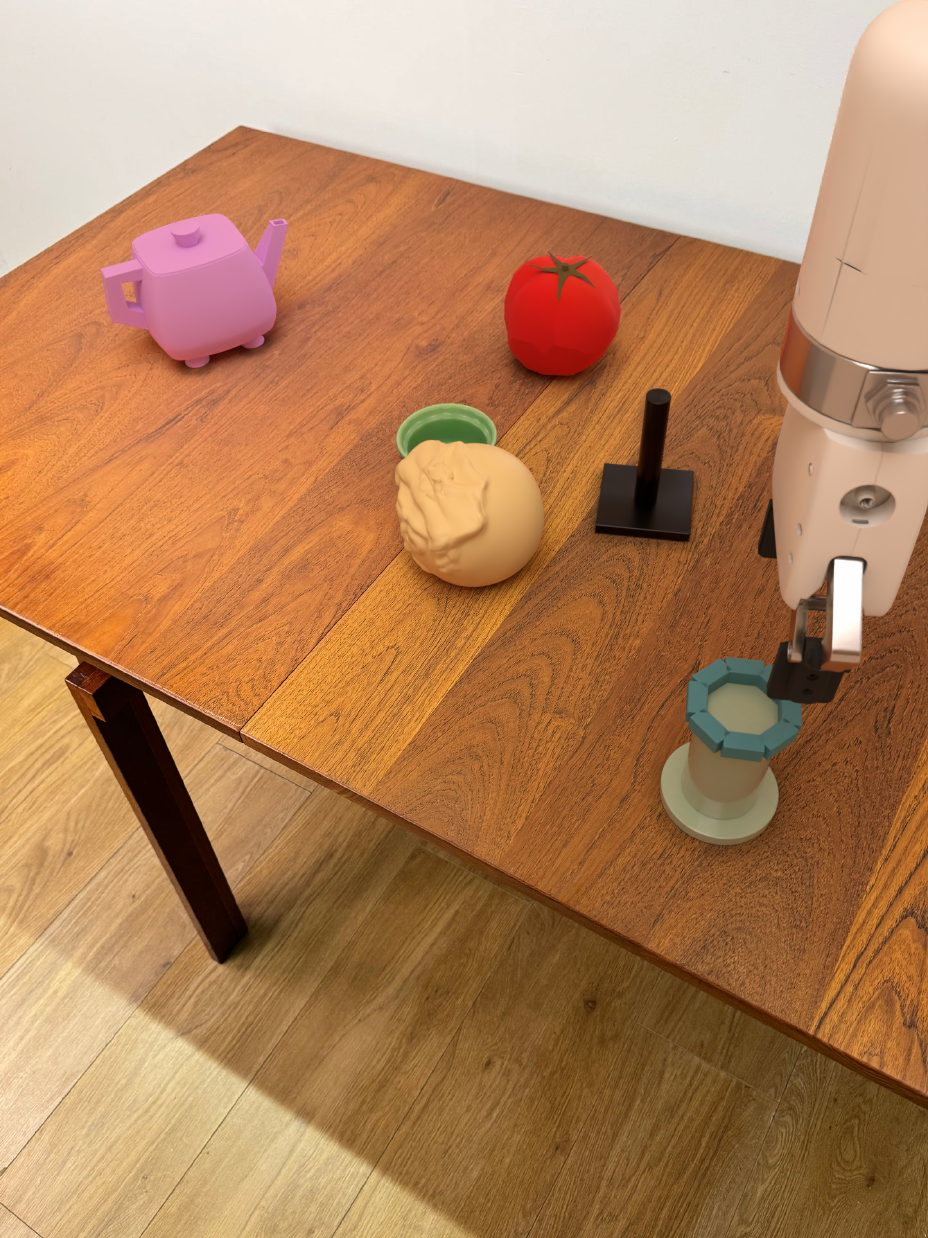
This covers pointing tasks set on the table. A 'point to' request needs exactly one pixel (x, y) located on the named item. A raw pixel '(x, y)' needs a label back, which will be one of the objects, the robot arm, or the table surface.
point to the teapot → (198, 286)
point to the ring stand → (723, 774)
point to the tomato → (561, 314)
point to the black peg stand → (647, 485)
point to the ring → (730, 741)
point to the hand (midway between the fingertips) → (791, 621)
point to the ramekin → (445, 427)
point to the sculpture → (468, 511)
